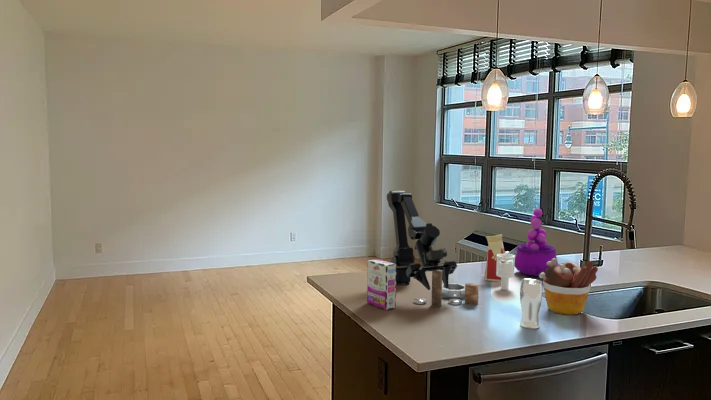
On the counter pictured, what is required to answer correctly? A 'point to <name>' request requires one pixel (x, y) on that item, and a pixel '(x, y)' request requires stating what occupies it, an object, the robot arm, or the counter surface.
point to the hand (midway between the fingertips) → (438, 288)
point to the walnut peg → (436, 288)
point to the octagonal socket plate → (453, 291)
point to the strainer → (505, 269)
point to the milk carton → (493, 257)
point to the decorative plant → (534, 249)
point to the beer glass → (530, 302)
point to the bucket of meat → (567, 286)
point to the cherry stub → (471, 293)
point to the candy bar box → (381, 284)
